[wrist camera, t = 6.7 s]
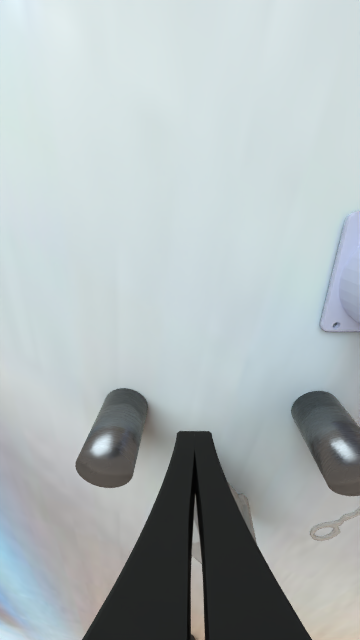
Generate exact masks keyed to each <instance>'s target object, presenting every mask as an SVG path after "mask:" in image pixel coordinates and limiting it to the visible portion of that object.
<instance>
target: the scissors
mask: <svg viewBox="0 0 360 640" xmlns="http://www.w3.org/2000/svg"><path fill="white" fill-rule="evenodd" d="M358 515H360V507H359V508H358V509H356V510H355V511H354V512H352V513H350V514H345V515H343V516H342V517H341V518H340V519H339V520H337V521H332V522H325V523H322V524H319V525H316V526H315V527H313V528H312V529H311V531H310V535H311V537H312V538H313V539H314V540H318V541H323V540H328V539H331V538H333V537H335V536H337V535H338V534H339V533H340V530H339V527H338V526H340V525H342V523H343V522H344V521H346V520H348V519H351V518H353V517H356V516H358ZM324 527H332V528H334V529H333V531H332V532H331V533H329V534H328V535H325V536H316V535H314V533H315V532H316V531H317V530H319V529H321V528H324Z"/></svg>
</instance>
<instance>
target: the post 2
mask: <svg viewBox="0 0 360 640" xmlns="http://www.w3.org/2000/svg"><path fill="white" fill-rule="evenodd" d="M291 413H292V416H293V418H294V420H295V422H296V424H297V426H298V428H299V430H300V432H301V434H302V436H303V438H304V440H305V442H306V444H307V446H308V448H309V450H310V452H311V454H312V456H313V458H314V459H315V461H316V463H317V465H318V467H319V469H320V471H321V473H322V475H323V477H324V479H325V481H326V483H327V485H328V487H329V488H330V489H331V490H332V491H334V492H335V493H338V494H341V495H346V496H359V495H360V427H359V426H358V425H357V424H356V422H355V421H354V420H353V419H352V418H351V416H350V415H349V414H348V413H347V411H346V410H345V409H344V408H343V406H342V405H341V404H340V403H339V401H338V400H337V399H336V398H335V397H334V396H333V395H332V394H330V393H328V392H324V391H314V392H309V393H306V394H304V395H302V396H301V397H299V398H298V399H297V400H296V401H295V402H294V404H293V406H292V409H291Z"/></svg>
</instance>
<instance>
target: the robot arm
mask: <svg viewBox="0 0 360 640" xmlns="http://www.w3.org/2000/svg"><path fill="white" fill-rule="evenodd" d="M336 322H337V325H336V326H333V324H334V323H336ZM320 327H321V328H322V329H323V330H324V331H346V332H360V211H355V212H352V213H350V214H349V215H348V216H347V217H346V220H345V223H344V227H343V231H342V235H341V239H340V244H339V248H338V252H337V256H336V260H335V264H334V268H333V272H332V276H331V280H330V285H329V289H328V293H327V297H326V301H325V305H324V309H323V313H322V317H321V321H320ZM195 495H196V505H197V516H198V527H199V538H200V548H201V559H202V572H203V591H204V622H205V640H312V639H311V637H310V636H309V634H308V633H307V631H306V629H305V628H304V626H303V624H302V623H301V621H300V619H299V618H298V616H297V614H296V613H295V611H294V609H293V608H292V606H291V604H290V603H289V601H288V599H287V597H286V596H285V594H284V592H283V591H282V589H281V587H280V586H279V584H278V582H277V581H276V579H275V577H274V575H273V574H272V572H271V570H270V568H269V566H268V564H267V563H266V561H265V559H264V557H263V555H262V554H261V552H260V550H259V548H258V546H257V544H256V542H255V540H254V538H253V536H252V534H251V533H250V531H249V529H248V527H247V524H246V522H245V520H244V518H243V516H242V514H241V512H240V510H239V508H238V506H237V503H236V501H235V499H234V497H233V494H232V492H231V490H230V487H229V485H228V482H227V480H226V478H225V475H224V473H223V470H222V467H221V465H220V462H219V459H218V456H217V453H216V450H215V446H214V443H213V439H212V434H211V433H210V432H209V431H179V432H178V433H177V438H176V443H175V447H174V451H173V454H172V457H171V461H170V464H169V467H168V470H167V472H166V475H165V478H164V481H163V484H162V486H161V489H160V491H159V494H158V496H157V498H156V501H155V503H154V505H153V508H152V510H151V513H150V515H149V517H148V519H147V521H146V524H145V526H144V528H143V530H142V532H141V534H140V536H139V538H138V540H137V542H136V544H135V546H134V548H133V550H132V552H131V554H130V556H129V558H128V560H127V562H126V564H125V566H124V568H123V569H122V571H121V573H120V575H119V577H118V579H117V581H116V582H115V584H114V586H113V588H112V590H111V591H110V593H109V595H108V597H107V598H106V600H105V602H104V604H103V605H102V607H101V609H100V610H99V612H98V614H97V615H96V617H95V619H94V621H93V622H92V624H91V626H90V627H89V629H88V631H87V633H86V634H85V636H84V638H83V639H82V640H191V558H192V541H193V524H194V506H195Z"/></svg>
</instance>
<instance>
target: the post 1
mask: <svg viewBox="0 0 360 640" xmlns="http://www.w3.org/2000/svg"><path fill="white" fill-rule="evenodd" d="M147 410H148V404H147V401H146V399H145V398H144V397H143V396H142V395H141V394H140V393H138V392H136V391H134V390H131V389H126V388H121V389H116V390H114V391H112V392H110V393H109V394H108V395H107V397H106V399H105V401H104V403H103V405H102V407H101V410H100V412H99V414H98V416H97V418H96V420H95V422H94V424H93V427H92V429H91V431H90V433H89V435H88V437H87V439H86V441H85V443H84V446H83V448H82V450H81V452H80V454H79V456H78V458H77V461H76V470H77V472H78V474H79V475H80V476H81V477H82V478H83V479H84V480H86V481H87V482H89V483H91V484H93V485H96V486H99V487H105V488H115V487H120V486H123V485H125V484H127V483H128V482H129V481H130V480H131V478H132V476H133V473H134V468H135V464H136V459H137V455H138V450H139V446H140V441H141V437H142V432H143V428H144V424H145V419H146V415H147Z"/></svg>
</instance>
